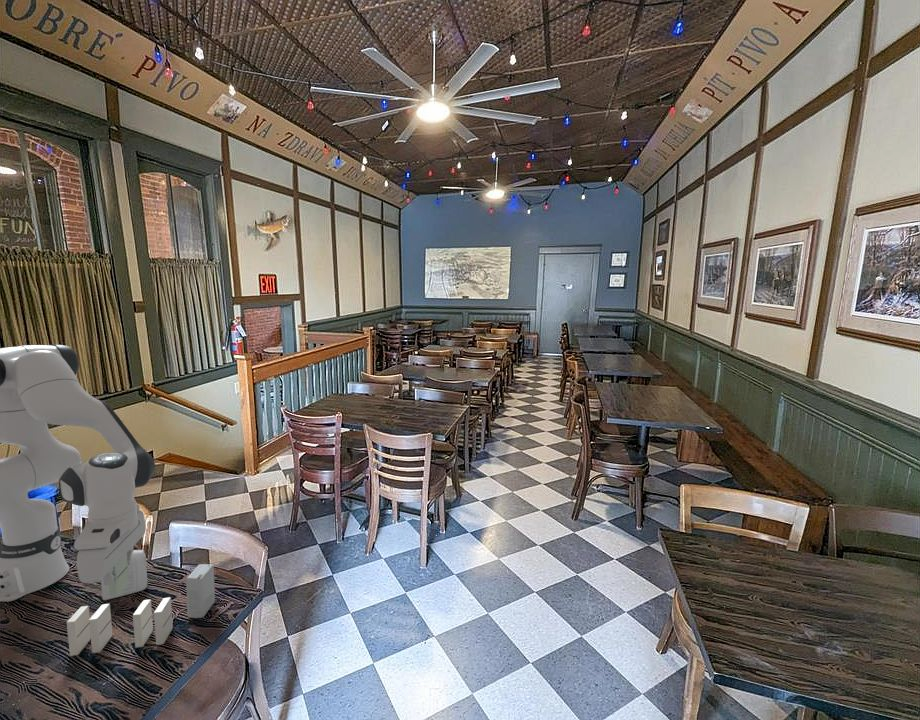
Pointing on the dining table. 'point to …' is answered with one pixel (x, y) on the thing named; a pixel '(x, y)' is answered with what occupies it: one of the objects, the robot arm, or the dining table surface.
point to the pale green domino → (119, 577)
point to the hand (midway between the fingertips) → (118, 574)
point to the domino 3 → (142, 623)
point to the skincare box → (200, 590)
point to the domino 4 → (163, 620)
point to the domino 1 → (78, 630)
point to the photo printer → (131, 576)
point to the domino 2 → (100, 628)
